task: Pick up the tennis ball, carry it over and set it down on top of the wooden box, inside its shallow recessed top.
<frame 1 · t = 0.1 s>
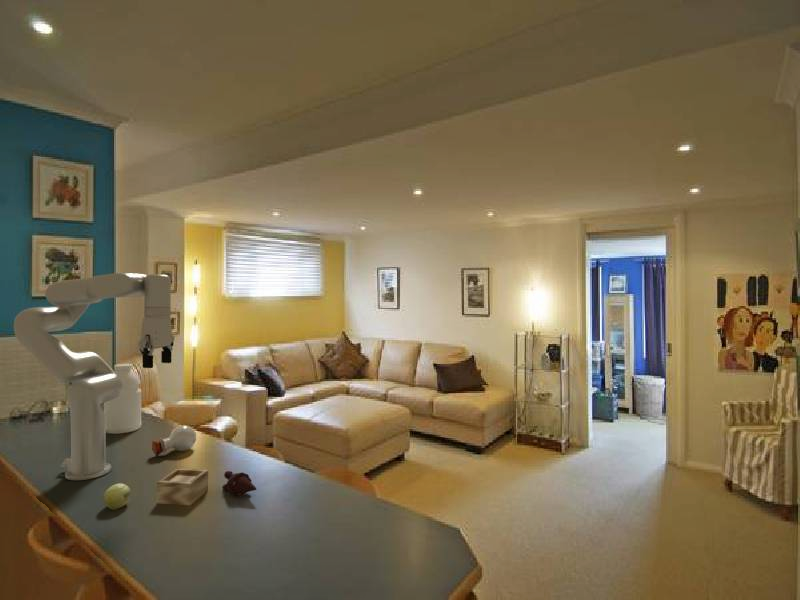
hand: (157, 365, 148), 37 cm above the counter, tool pointing down, fingers open, 9 cm apart
bottle: (122, 429, 198), on the counter
wooden box: (183, 496, 136), on the counter
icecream: (239, 495, 138), on the counter
potion bottle: (175, 452, 172), on the counter
tennis ball: (117, 507, 129), on the counter
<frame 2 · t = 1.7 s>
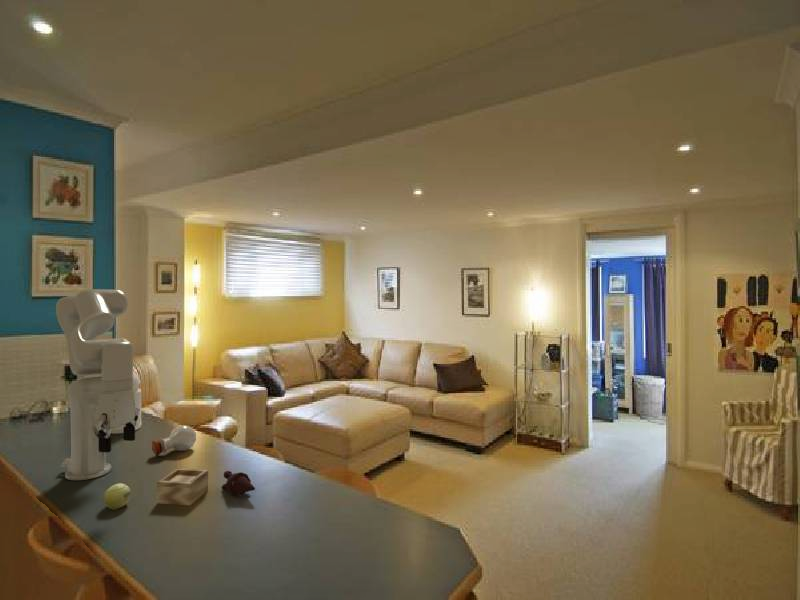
hand: (117, 445, 129), 17 cm above the counter, tool pointing down, fingers open, 9 cm apart
nothing on the counter moved.
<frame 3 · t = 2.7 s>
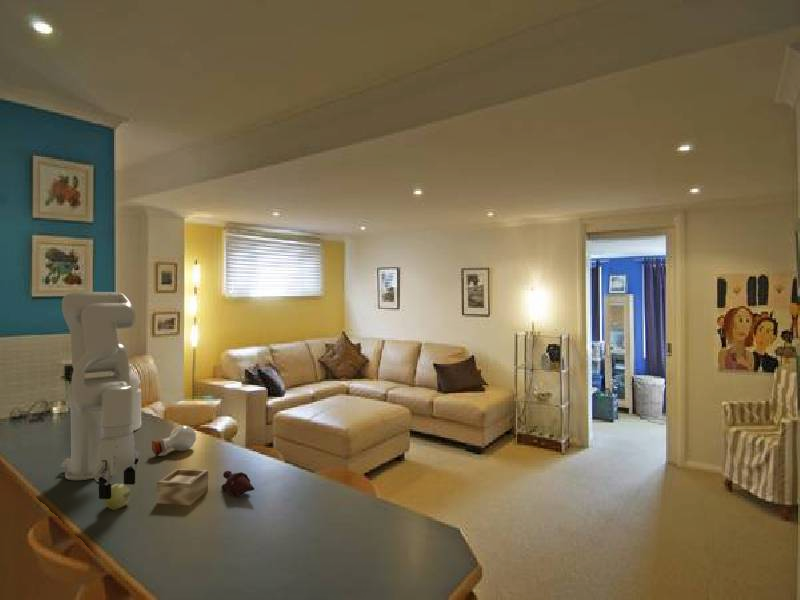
hand: (117, 491, 129), 5 cm above the counter, tool pointing down, fingers open, 9 cm apart
nothing on the counter moved.
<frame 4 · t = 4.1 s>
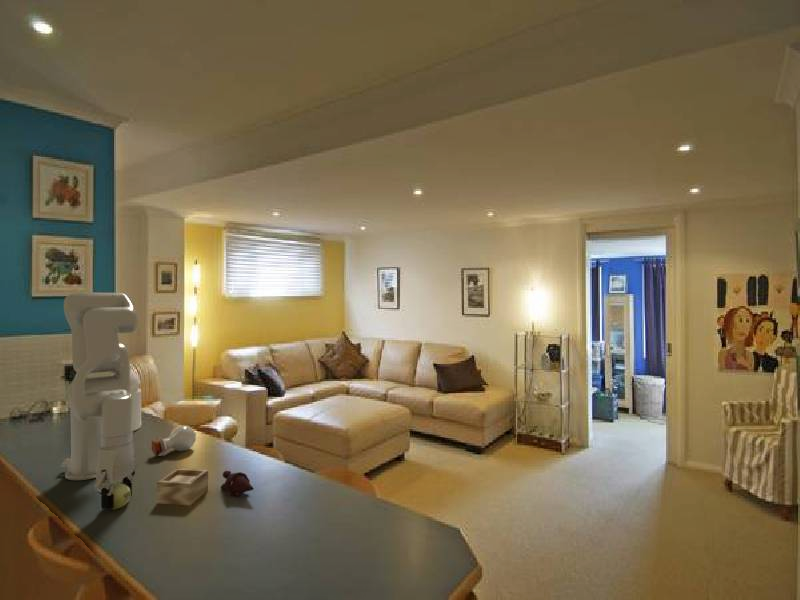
hand: (117, 501, 129), 1 cm above the counter, tool pointing down, fingers closed on tennis ball, 6 cm apart
tennis ball: (117, 506, 129), on the counter, touching gripper
everything else where it was.
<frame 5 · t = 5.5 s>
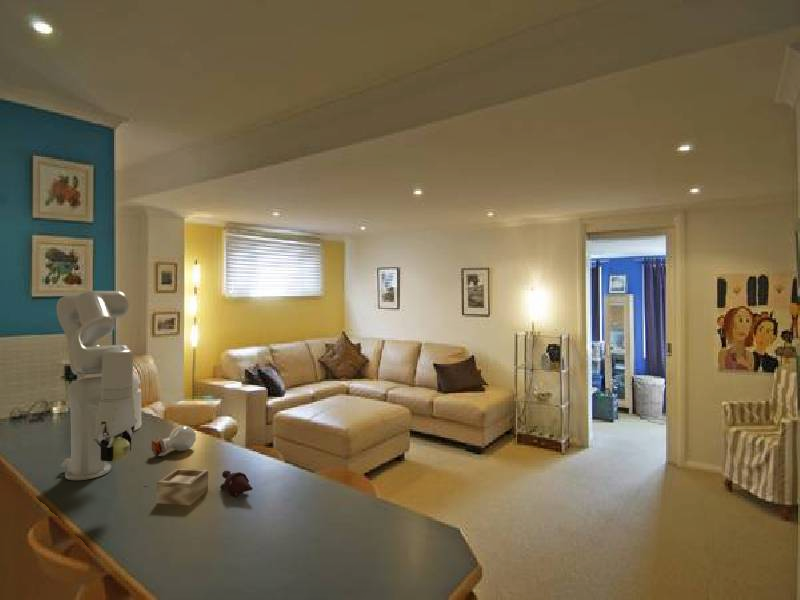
hand: (116, 455, 130), 14 cm above the counter, tool pointing down, fingers closed on tennis ball, 6 cm apart
tennis ball: (116, 460, 130), point 13 cm above the counter, touching gripper
everything else where it was.
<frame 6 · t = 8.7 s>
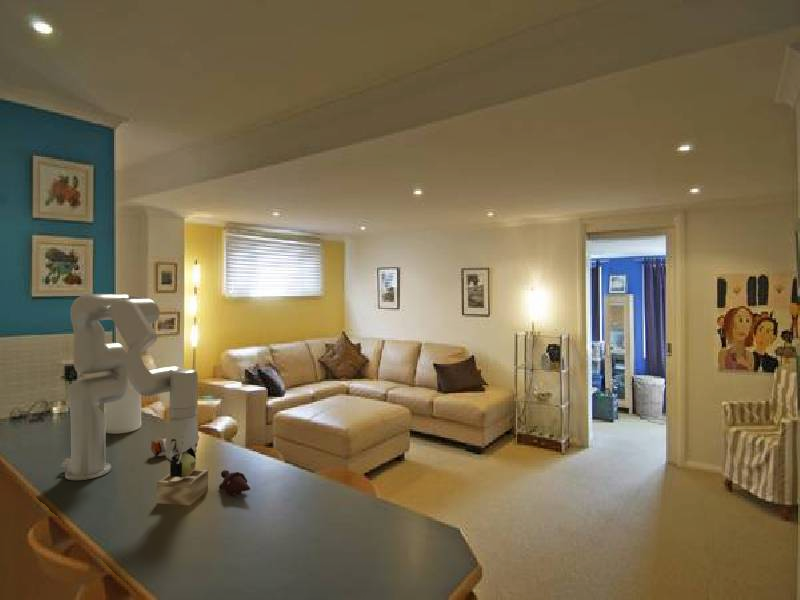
hand: (183, 470, 136), 8 cm above the counter, tool pointing down, fingers closed on tennis ball, 6 cm apart
tennis ball: (183, 475, 136), point 6 cm above the counter, touching gripper
when the fingers open (8 cm above the counter, at t = 9.6 s): tennis ball drops 1 cm, resting on wooden box.
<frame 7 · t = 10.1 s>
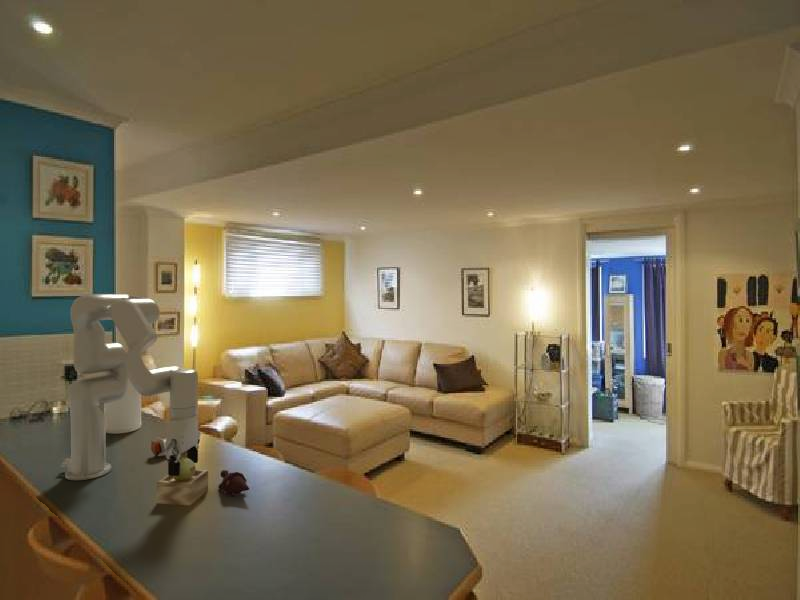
hand: (183, 468, 136), 8 cm above the counter, tool pointing down, fingers open, 9 cm apart
tennis ball: (183, 480, 136), point 5 cm above the counter, touching wooden box
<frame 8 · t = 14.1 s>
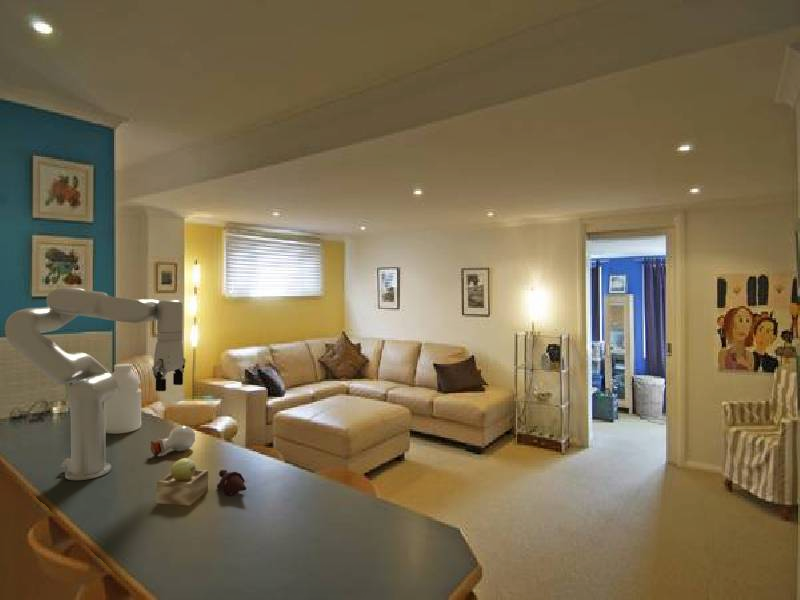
hand: (169, 387, 154), 28 cm above the counter, tool pointing down, fingers open, 9 cm apart
at the end: tennis ball inside the target area on the wooden box (0.1 cm from its centre), point 4.8 cm above the wooden box's base; tennis ball touching wooden box; the gripper is holding nothing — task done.
